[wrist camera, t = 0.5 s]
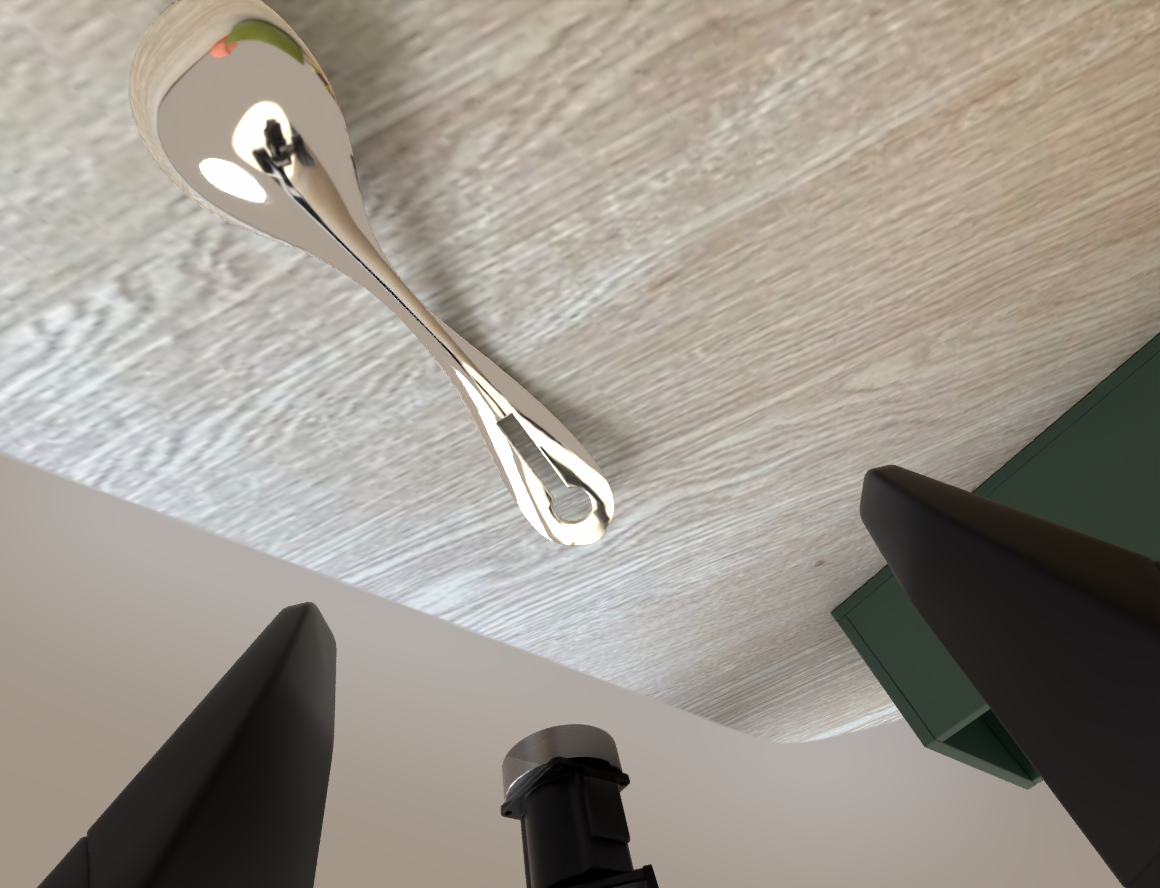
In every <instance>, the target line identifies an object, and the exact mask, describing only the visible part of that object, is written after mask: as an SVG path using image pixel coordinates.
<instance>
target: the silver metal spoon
mask: <svg viewBox="0 0 1160 888" xmlns="http://www.w3.org/2000/svg"><path fill="white" fill-rule="evenodd" d="M129 101H130V107H131V112H132V115H133V119H134V122H135V125H136V127H137V130H138V132H139V135H140V137H141V139H142V141H143V143H144V145H145V147H146V148H147V150H148V152H149V153H150V155H151V156H152V158H153V159H154V161H155V162H156V164H157V165H158V166H159V168H160V169H161V170H162V171H163V173H164V174H165V175H166V176H167V177H168V178H169V179H170V180H171V182H172V183H173V184H174V185H175V186H177V187H178V188H179V189H180V190H181V191H182V192H183V193H184V194H185V195H187V196H188V197H189V198H190V199H192V200H193V201H194V202H196V203H197V204H198V205H200V206H201V207H203V208H204V209H206V210H207V211H209V212H211V213H212V214H214V215H216V216H218V217H220V218H221V219H223V220H225V221H227V222H229V223H231V224H234V225H236V226H238V227H240V228H243V229H245V230H247V231H250V232H252V233H255V234H257V235H260V236H262V237H265V238H268V239H270V240H273V241H276V242H278V243H281V244H284V245H286V246H289V247H292V248H294V249H297V250H299V251H302V252H304V253H306V254H309V255H311V256H313V257H315V258H317V259H319V260H321V261H324V262H325V263H327V264H329V265H331V266H333V267H334V268H336V269H338V270H340V271H341V272H343V273H344V274H346V275H347V276H349V277H351V278H352V279H354V280H355V281H356V282H358V283H359V284H360V285H362V286H363V287H365V288H366V289H367V290H368V291H370V292H371V293H372V294H374V295H375V296H376V297H377V298H378V299H379V300H381V301H382V302H383V303H384V304H385V305H386V306H387V307H388V308H390V309H391V310H392V311H393V312H394V313H395V314H396V315H397V316H398V317H399V318H400V319H401V320H402V321H403V322H404V323H405V324H406V326H407V327H408V328H409V329H410V330H411V331H412V332H413V333H414V334H415V336H416V337H417V338H418V339H419V340H420V342H421V343H422V344H423V345H424V346H425V348H426V349H427V350H428V351H429V353H430V354H431V355H432V357H433V358H434V359H435V361H436V362H437V364H438V365H439V366H440V368H441V369H442V371H443V372H444V374H445V375H446V377H447V378H448V380H449V381H450V383H451V384H452V386H453V388H454V389H455V391H456V392H457V394H458V396H459V398H460V399H461V401H462V403H463V404H464V406H465V408H466V410H467V412H468V414H469V415H470V417H471V419H472V421H473V423H474V425H475V427H476V429H477V431H478V433H479V435H480V437H481V439H482V441H483V443H484V445H485V446H486V448H487V450H488V452H489V454H490V456H491V458H492V460H493V462H494V464H495V466H496V468H497V470H498V472H499V474H500V476H501V477H502V479H503V481H504V483H505V485H506V486H507V488H508V490H509V492H510V493H511V495H512V497H513V498H514V500H515V502H516V503H517V505H518V506H519V508H520V509H521V511H522V512H523V514H524V515H525V516H526V518H527V519H528V520H529V521H530V523H531V524H532V525H533V526H534V527H535V528H536V529H537V530H538V531H539V532H540V533H541V534H543V535H544V536H545V537H547V538H548V539H550V540H552V541H554V542H556V543H559V544H563V545H585V544H591V543H594V542H596V541H597V540H599V539H600V538H601V537H602V535H603V534H604V532H605V531H606V529H607V527H608V525H609V523H610V521H611V519H612V517H613V513H614V499H613V495H612V492H611V489H610V486H609V484H608V482H607V480H606V478H605V476H604V474H603V473H602V471H601V470H600V468H599V467H598V465H597V464H596V462H595V461H594V460H593V458H592V457H591V456H590V454H589V453H588V452H587V451H586V449H585V448H584V447H583V446H582V445H581V443H580V442H579V441H578V440H577V439H576V438H575V437H574V436H573V435H572V433H571V432H570V431H569V430H568V429H567V428H566V427H565V426H564V425H563V424H562V423H561V422H560V421H559V420H558V419H557V418H556V417H555V416H554V415H553V414H552V413H551V412H550V411H549V410H548V409H547V408H546V407H544V406H543V405H542V404H541V403H540V402H539V401H538V400H537V399H536V398H535V397H533V396H532V395H531V394H530V393H529V392H528V391H527V390H526V389H524V388H523V387H522V386H521V385H520V384H519V383H517V382H516V381H515V380H514V379H513V378H512V377H510V376H509V375H508V374H507V373H506V372H504V371H503V370H502V369H501V368H500V367H498V366H497V365H496V364H495V363H493V362H492V361H491V360H490V359H488V358H487V357H486V356H485V355H483V354H482V353H481V352H480V351H478V350H477V349H476V348H475V347H473V346H472V345H471V344H470V343H468V342H467V341H466V340H465V339H463V338H462V337H461V336H460V335H458V334H457V333H456V332H455V331H454V330H452V329H451V328H450V327H449V326H448V325H446V324H445V323H444V322H443V321H442V320H440V319H439V318H438V317H437V316H436V315H435V314H434V313H433V312H432V311H430V310H429V309H428V308H427V307H426V306H425V305H424V304H423V303H422V302H421V301H420V300H419V299H418V298H417V297H416V296H415V295H414V294H413V293H412V291H411V290H410V289H409V288H408V287H407V286H406V285H405V283H404V282H403V281H402V280H401V278H400V277H399V276H398V275H397V273H396V272H395V271H394V269H393V268H392V266H391V265H390V263H389V262H388V260H387V259H386V257H385V255H384V254H383V252H382V250H381V248H380V246H379V244H378V243H377V241H376V238H375V236H374V234H373V232H372V229H371V227H370V224H369V222H368V218H367V215H366V212H365V208H364V204H363V201H362V196H361V192H360V187H359V182H358V177H357V172H356V167H355V162H354V157H353V152H352V148H351V143H350V139H349V135H348V131H347V127H346V124H345V121H344V118H343V114H342V112H341V109H340V106H339V104H338V101H337V99H336V96H335V94H334V92H333V90H332V87H331V85H330V83H329V81H328V79H327V77H326V76H325V74H324V72H323V70H322V69H321V67H320V65H319V64H318V62H317V61H316V59H315V58H314V56H313V55H312V53H311V52H310V50H309V49H308V48H307V46H306V45H305V44H304V42H303V41H302V40H301V39H300V37H299V36H298V35H297V34H296V33H295V31H294V30H293V29H292V28H291V27H290V26H289V25H288V24H287V23H286V22H285V21H284V20H283V19H282V18H281V17H280V16H279V15H278V14H277V13H276V12H275V11H274V10H272V9H271V8H270V7H269V6H267V5H266V4H265V3H263V2H262V1H261V0H177V1H176V2H175V3H173V4H172V5H171V6H170V7H169V8H167V9H166V10H165V11H164V12H163V13H162V14H161V15H160V16H159V17H158V18H157V19H156V20H155V22H154V23H153V24H152V25H151V26H150V28H149V29H148V30H147V32H146V33H145V35H144V36H143V38H142V40H141V41H140V43H139V45H138V47H137V50H136V52H135V54H134V57H133V60H132V64H131V68H130V74H129ZM510 414H513V415H514V416H515V417H516V419H517V420H518V421H519V423H520V424H521V425H522V427H523V428H524V429H525V431H526V432H527V433H528V435H529V436H530V437H531V439H532V440H533V441H534V443H535V444H536V445H537V447H538V448H539V449H540V451H541V452H542V454H543V455H544V456H545V458H546V459H547V460H548V462H549V463H550V464H551V466H552V467H553V468H554V470H555V471H556V472H557V474H558V475H559V476H560V478H561V479H562V480H563V482H564V483H565V484H566V486H567V487H568V488H569V487H576V488H580V489H582V490H584V491H585V492H586V493H587V494H588V495H589V496H590V498H591V507H590V510H589V512H588V513H587V514H586V515H585V516H584V517H583V518H581V519H578V520H565V519H563V518H561V517H559V516H558V515H557V514H556V513H555V511H554V509H553V500H554V496H553V495H552V494H551V492H550V491H549V490H548V488H547V487H546V486H545V484H544V483H543V482H542V480H541V479H540V478H539V476H538V475H537V474H536V473H535V471H534V470H533V469H532V467H531V466H530V465H529V463H528V462H527V461H526V459H525V458H524V457H523V455H522V454H521V453H520V452H519V450H518V449H517V448H516V446H515V445H514V444H513V442H512V441H511V440H510V438H509V437H508V436H507V434H506V433H505V432H504V431H503V429H502V428H501V427H500V425H499V424H498V423H497V422H499V421H501V420H503V419H504V418H506V417H507V416H509V415H510Z"/></svg>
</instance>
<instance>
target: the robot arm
mask: <svg viewBox="0 0 1160 888" xmlns="http://www.w3.org/2000/svg"><path fill="white" fill-rule="evenodd" d="M860 515H861V518H862V521H863V523H864V525H865V526H866V528H867V530H868V531H869V533H870V535H871V536H872V538H873V540H874V541H875V543H876V545H877V547H878V548H879V550H880V552H881V553H882V555H883V557H884V558H885V560H886V562H887V563H888V565H889V567H890V569H891V570H892V572H893V574H894V575H895V577H896V579H897V580H898V582H899V584H900V585H901V587H902V589H903V590H904V592H905V593H906V595H907V596H908V598H909V600H910V601H911V602H912V604H913V605H914V607H915V608H916V609H917V611H918V612H919V613H920V615H921V616H922V617H923V619H924V620H925V622H926V623H927V624H928V626H929V627H930V628H931V630H932V631H933V632H934V634H935V635H936V636H937V638H938V639H939V640H940V642H941V643H942V644H943V646H944V647H945V648H946V650H947V651H948V652H949V654H950V655H951V656H952V658H953V659H954V660H955V662H956V663H957V664H958V666H959V667H960V668H961V670H962V671H963V672H964V674H965V675H966V676H967V678H968V679H969V681H970V682H971V683H972V685H973V686H974V687H975V689H976V690H977V691H978V693H979V694H980V695H981V697H982V698H983V699H984V701H985V702H986V703H987V705H988V706H989V707H990V709H991V710H992V711H993V713H994V714H995V715H996V717H997V718H998V719H999V721H1000V722H1001V723H1002V725H1003V726H1004V727H1005V729H1006V730H1007V731H1008V733H1009V734H1010V736H1011V737H1012V738H1013V740H1014V741H1015V742H1016V744H1017V745H1018V746H1019V748H1020V749H1021V750H1022V752H1023V753H1024V754H1025V756H1026V757H1027V758H1028V760H1029V761H1030V762H1031V764H1032V765H1033V766H1034V768H1035V769H1036V770H1037V772H1038V773H1039V774H1040V776H1041V777H1042V778H1043V780H1044V781H1045V782H1046V784H1047V785H1048V786H1049V788H1050V789H1051V790H1052V792H1053V793H1054V794H1055V796H1056V797H1057V799H1058V800H1059V801H1060V803H1061V804H1062V805H1063V807H1064V808H1065V809H1066V811H1067V812H1068V813H1069V815H1070V816H1071V817H1072V819H1073V820H1074V821H1075V822H1076V824H1077V825H1078V827H1079V828H1080V829H1081V830H1082V832H1083V833H1084V835H1085V836H1086V837H1087V839H1088V840H1089V841H1090V843H1091V844H1092V845H1093V847H1094V848H1095V849H1096V851H1097V852H1098V853H1099V855H1100V856H1101V858H1102V859H1103V860H1104V862H1105V863H1106V864H1107V866H1108V867H1109V868H1110V870H1111V871H1112V872H1113V873H1114V875H1115V876H1116V878H1117V879H1118V880H1119V882H1120V883H1121V884H1122V885H1123V887H1125V888H1160V561H1157V560H1156V561H1152V560H1151V559H1150V558H1149V557H1147V556H1144V555H1141V554H1138V553H1136V552H1133V551H1130V550H1127V549H1125V548H1122V547H1119V546H1116V545H1114V544H1111V543H1108V542H1105V541H1103V540H1100V539H1097V538H1094V537H1092V536H1089V535H1086V534H1083V533H1081V532H1078V531H1075V530H1072V529H1070V528H1067V527H1064V526H1061V525H1058V524H1056V523H1053V522H1050V521H1047V520H1045V519H1042V518H1039V517H1036V516H1034V515H1031V514H1028V513H1025V512H1023V511H1020V510H1017V509H1014V508H1012V507H1009V506H1006V505H1003V504H1001V503H998V502H995V501H992V500H990V499H987V498H984V497H981V496H979V495H976V494H973V493H970V492H968V491H965V490H962V489H959V488H957V487H954V486H951V485H948V484H946V483H943V482H940V481H937V480H935V479H932V478H929V477H926V476H923V475H921V474H918V473H915V472H912V471H910V470H907V469H904V468H901V467H899V466H896V465H886V466H882V467H878V468H873V469H870V470H869V471H867V473H866V474H865V477H864V483H863V489H862V496H861V503H860ZM335 683H336V642H335V638H334V636H333V634H332V632H331V630H330V628H329V627H328V625H327V623H326V621H325V620H324V618H323V616H322V614H321V613H320V611H319V609H318V607H317V606H316V605H315V604H314V603H312V602H305V603H301V604H297V605H292V606H288V607H286V608H284V609H283V610H282V611H281V612H280V613H279V614H278V615H277V616H276V617H275V619H274V620H273V621H272V622H271V623H270V624H269V625H268V626H267V627H266V628H265V630H264V631H263V632H262V633H261V634H260V635H259V636H258V638H257V639H256V640H255V641H254V642H253V643H252V644H251V645H250V647H249V648H248V649H247V650H246V651H245V652H244V654H243V655H242V656H241V657H240V658H239V659H238V660H237V661H236V663H235V664H234V665H233V666H232V667H231V668H230V669H229V671H228V672H227V673H226V674H225V675H224V676H223V678H221V680H220V681H219V682H218V683H217V684H216V685H215V687H214V688H213V689H212V690H211V691H210V692H209V693H208V694H207V696H206V697H205V698H204V699H203V700H202V701H201V703H200V704H199V705H198V706H197V707H196V708H195V709H194V710H193V712H192V713H191V714H190V715H189V716H188V717H187V718H186V719H185V721H184V722H183V723H182V724H181V725H180V726H179V727H178V729H177V730H176V731H175V732H174V733H173V734H172V736H171V737H170V738H169V739H168V740H167V741H166V742H165V743H164V744H163V746H162V747H161V748H160V749H159V750H158V751H157V752H156V754H155V755H154V756H153V757H152V758H151V760H149V762H148V763H147V764H146V765H145V766H144V767H143V768H142V770H141V771H140V772H139V773H138V774H137V775H136V776H135V777H134V779H133V780H132V781H131V782H130V783H129V784H128V785H127V787H126V788H125V789H124V790H123V791H122V792H121V793H120V795H119V796H118V797H117V798H116V799H115V800H114V801H113V803H112V804H111V805H110V806H109V807H108V808H107V810H105V812H104V813H103V814H102V815H101V817H99V818H98V820H97V821H96V822H95V823H94V824H93V825H92V826H91V828H90V829H89V830H88V832H87V837H82V838H81V839H80V840H79V841H78V842H77V843H76V844H75V846H74V847H73V848H72V849H71V850H70V851H69V852H68V853H67V855H66V856H65V857H64V858H63V859H62V860H61V861H60V863H59V864H58V865H57V866H56V867H55V868H54V870H52V872H51V873H50V874H49V875H48V876H47V877H46V878H45V879H44V881H42V883H41V884H40V885H39V886H38V887H37V888H313V886H314V879H315V871H316V865H317V858H318V851H319V844H320V837H321V830H322V823H323V816H324V809H325V802H326V796H327V787H328V782H329V775H330V767H331V761H332V752H333V741H334V718H335ZM629 784H630V779H629V776H628V774H626V773H622V772H618V771H614V770H611V769H607V768H603V767H599V766H595V765H591V764H588V763H584V762H580V761H576V760H572V759H569V758H565V757H560V756H558V757H554V758H552V759H551V760H550V761H549V762H547V763H546V764H545V765H544V766H543V767H542V768H541V769H540V770H539V771H538V772H537V773H536V774H535V775H534V776H533V777H531V778H530V779H529V780H528V781H527V782H526V783H525V784H524V785H523V786H522V787H521V788H520V789H519V790H518V791H517V792H516V793H514V794H513V795H512V796H511V797H510V798H509V799H508V800H507V801H506V802H505V803H504V804H503V805H502V806H501V815H502V816H504V817H508V818H513V819H518V820H521V831H522V841H523V853H524V864H525V875H526V885H527V888H659V887H658V884H657V881H656V877H655V874H654V871H653V868H652V865H651V864H650V865H645V866H643V868H640V869H636V870H634V869H633V866H632V861H631V857H630V852H629V847H628V843H629V841H630V835H629V831H628V826H627V822H626V818H625V813H624V809H623V805H622V801H621V796H620V792H621V791H622V790H623V789H624V788H625V787H626V786H628V785H629Z"/></svg>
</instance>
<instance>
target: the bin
mask: <svg viewBox="0 0 1160 888" xmlns="http://www.w3.org/2000/svg"><path fill="white" fill-rule="evenodd" d="M973 494H976V495H979V496H981V497H984V498H987V499H990V500H992V501H995V502H998V503H1001V504H1003V505H1006V506H1009V507H1012V508H1014V509H1017V510H1020V511H1023V512H1025V513H1028V514H1031V515H1034V516H1036V517H1039V518H1042V519H1045V520H1047V521H1050V522H1053V523H1056V524H1058V525H1061V526H1064V527H1067V528H1070V529H1072V530H1075V531H1078V532H1081V533H1083V534H1086V535H1089V536H1092V537H1094V538H1097V539H1100V540H1103V541H1105V542H1108V543H1111V544H1114V545H1116V546H1119V547H1122V548H1125V549H1127V550H1130V551H1133V552H1136V553H1138V554H1141V555H1144V556H1147V557H1149V558H1150V559H1151V560H1152V561H1156V560H1157V561H1160V334H1159V335H1157V336H1156V337H1155V338H1154V339H1153V340H1152V341H1150V342H1149V343H1148V344H1147V345H1146V346H1145V347H1143V348H1142V349H1141V350H1140V351H1139V352H1138V353H1136V354H1135V355H1134V356H1133V357H1132V358H1130V359H1129V360H1128V361H1127V362H1126V363H1125V364H1123V365H1122V366H1121V367H1120V368H1119V369H1118V370H1116V371H1115V372H1114V373H1113V374H1112V375H1110V376H1109V377H1108V378H1107V379H1106V380H1105V381H1103V382H1102V383H1101V384H1100V385H1099V386H1098V387H1096V388H1095V389H1094V390H1093V391H1092V392H1091V393H1089V394H1088V395H1087V396H1086V397H1085V398H1083V399H1082V400H1081V401H1080V402H1079V403H1078V404H1076V405H1075V406H1074V407H1073V408H1072V409H1071V410H1069V411H1068V412H1067V413H1066V414H1065V415H1063V416H1062V417H1061V418H1060V419H1059V420H1058V421H1056V422H1055V423H1054V424H1053V425H1052V426H1051V427H1049V428H1048V429H1047V430H1046V431H1045V432H1044V433H1042V434H1041V435H1040V436H1039V437H1038V438H1036V439H1035V440H1034V441H1033V442H1032V443H1031V444H1029V445H1028V446H1027V447H1026V448H1025V449H1024V450H1022V451H1021V452H1020V453H1019V454H1018V455H1016V456H1015V457H1014V458H1013V459H1012V460H1011V461H1009V462H1008V463H1007V464H1006V465H1005V466H1004V467H1002V468H1001V469H1000V470H999V471H998V472H996V473H995V474H994V475H993V476H992V477H991V478H989V479H988V480H987V481H986V482H985V483H984V484H982V485H981V486H980V487H979V488H978V489H977V490H975V491H974V492H973ZM831 614H832V615H833V617H834V618H835V620H836V621H837V622H838V624H839V625H840V627H841V628H842V629H843V631H844V632H845V634H846V635H847V637H848V638H849V639H850V641H851V642H852V644H853V645H854V647H855V648H856V649H857V651H858V652H859V654H860V655H861V657H862V658H863V659H864V661H865V662H866V664H867V665H868V667H869V668H870V669H871V671H872V672H873V674H874V675H875V677H876V678H877V679H878V681H879V682H880V684H881V685H882V687H883V688H884V689H885V691H886V692H887V694H888V695H889V697H890V698H891V699H892V701H893V702H894V704H895V705H896V707H897V708H898V709H899V711H900V712H901V714H902V715H903V717H904V718H905V720H906V721H907V722H908V723H909V725H910V726H911V728H912V729H913V731H914V732H915V734H916V735H917V737H918V738H919V739H920V741H921V742H922V744H923V745H924V747H926V748H929V749H931V750H933V751H936V752H938V753H941V754H943V755H945V756H948V757H950V758H953V759H955V760H958V761H960V762H962V763H965V764H967V765H970V766H972V767H974V768H977V769H979V770H981V771H984V772H986V773H989V774H991V775H994V776H996V777H998V778H1001V779H1003V780H1005V781H1008V782H1011V783H1013V784H1015V785H1017V786H1020V787H1022V788H1025V789H1027V790H1028V789H1030V788H1031V787H1033V786H1035V785H1036V784H1037V783H1039V782H1041V781H1043V778H1042V777H1041V776H1040V774H1039V773H1038V772H1037V770H1036V769H1035V768H1034V766H1033V765H1032V764H1031V762H1030V761H1029V760H1028V758H1027V757H1026V756H1025V754H1024V753H1023V752H1022V750H1021V749H1020V748H1019V746H1018V745H1017V744H1016V742H1015V741H1014V740H1013V738H1012V737H1011V736H1010V734H1009V733H1008V731H1007V730H1006V729H1005V727H1004V726H1003V725H1002V723H1001V722H1000V721H999V719H998V718H997V717H996V715H995V714H994V713H993V711H992V710H991V709H990V707H989V706H988V705H987V703H986V702H985V701H984V699H983V698H982V697H981V695H980V694H979V693H978V691H977V690H976V689H975V687H974V686H973V685H972V683H971V682H970V681H969V679H968V678H967V676H966V675H965V674H964V672H963V671H962V670H961V668H960V667H959V666H958V664H957V663H956V662H955V660H954V659H953V658H952V656H951V655H950V654H949V652H948V651H947V650H946V648H945V647H944V646H943V644H942V643H941V642H940V640H939V639H938V638H937V636H936V635H935V634H934V632H933V631H932V630H931V628H930V627H929V626H928V624H927V623H926V622H925V620H924V619H923V617H922V616H921V615H920V613H919V612H918V611H917V609H916V608H915V607H914V605H913V604H912V602H911V601H910V600H909V598H908V596H907V595H906V593H905V592H904V590H903V589H902V587H901V585H900V584H899V582H898V580H897V579H896V577H895V575H894V574H893V572H892V570H891V569H890V567H889V565H887V566H886V567H885V568H884V569H883V570H881V571H880V572H879V573H878V574H877V575H875V576H874V577H873V578H872V579H871V580H870V581H868V582H867V583H866V584H865V585H864V586H863V587H861V588H860V589H859V590H858V591H857V592H855V593H854V594H853V595H852V596H851V597H850V598H848V599H847V600H846V601H845V602H844V603H843V604H841V605H840V606H839V607H838V608H837V609H836V610H834V611H833V612H832V613H831Z"/></svg>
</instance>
